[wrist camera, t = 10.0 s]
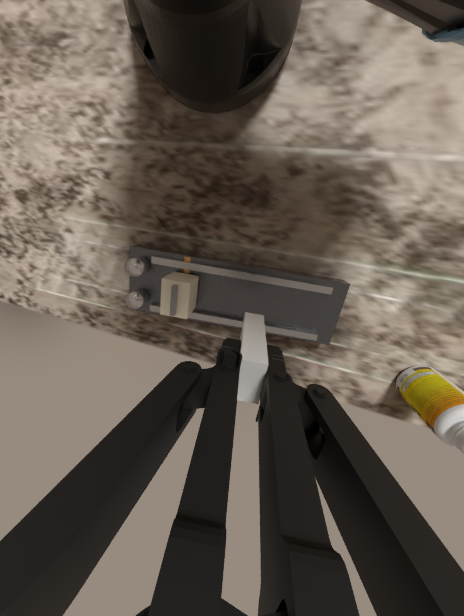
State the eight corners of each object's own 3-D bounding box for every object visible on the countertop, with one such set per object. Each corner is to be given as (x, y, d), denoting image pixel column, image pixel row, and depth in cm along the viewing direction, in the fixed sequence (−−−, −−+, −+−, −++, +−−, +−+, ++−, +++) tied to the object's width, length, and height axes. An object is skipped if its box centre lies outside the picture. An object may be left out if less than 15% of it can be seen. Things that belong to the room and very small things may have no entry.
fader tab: (174, 271, 27) (159, 279, 22) (199, 275, 27) (188, 284, 22) (172, 302, 28) (157, 316, 24) (195, 307, 28) (185, 321, 24)
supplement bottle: (384, 386, 32) (441, 453, 23) (412, 356, 30) (487, 416, 21) (417, 402, 33) (485, 475, 23) (446, 374, 31) (534, 440, 21)
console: (137, 244, 28) (120, 247, 25) (343, 280, 28) (357, 288, 24) (136, 304, 31) (121, 314, 27) (324, 337, 30) (334, 353, 27)
